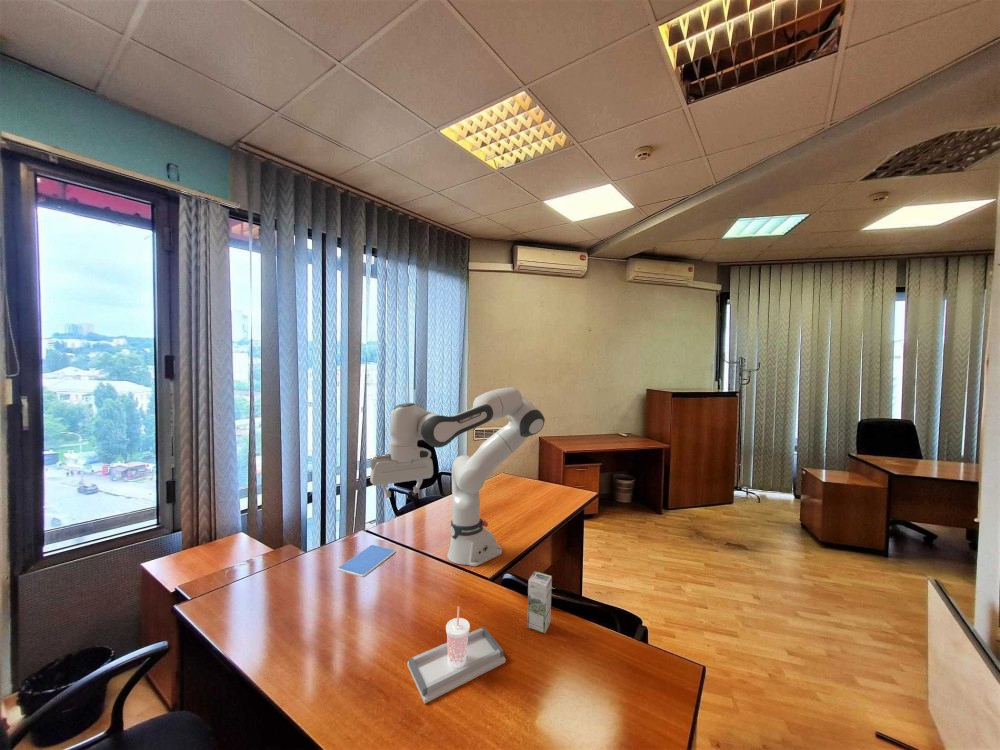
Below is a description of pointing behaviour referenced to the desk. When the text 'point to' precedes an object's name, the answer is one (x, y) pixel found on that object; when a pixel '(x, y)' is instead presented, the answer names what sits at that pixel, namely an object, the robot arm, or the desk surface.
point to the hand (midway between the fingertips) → (402, 494)
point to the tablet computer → (366, 561)
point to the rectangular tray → (441, 677)
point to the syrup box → (539, 602)
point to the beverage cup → (457, 640)
